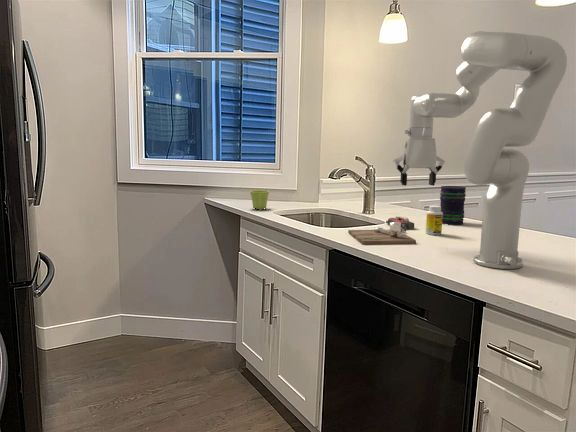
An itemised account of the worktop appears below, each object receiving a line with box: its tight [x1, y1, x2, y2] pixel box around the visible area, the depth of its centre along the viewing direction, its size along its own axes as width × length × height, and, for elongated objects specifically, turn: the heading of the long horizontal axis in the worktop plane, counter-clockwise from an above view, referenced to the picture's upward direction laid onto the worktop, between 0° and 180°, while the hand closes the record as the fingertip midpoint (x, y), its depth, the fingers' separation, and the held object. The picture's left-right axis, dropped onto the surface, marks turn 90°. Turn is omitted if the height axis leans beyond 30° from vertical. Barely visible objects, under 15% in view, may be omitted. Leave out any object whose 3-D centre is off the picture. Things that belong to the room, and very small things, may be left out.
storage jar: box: [439, 185, 467, 226], centre depth 201 cm, size 10×10×15 cm
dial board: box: [347, 229, 417, 246], centre depth 169 cm, size 19×18×1 cm
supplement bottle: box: [425, 205, 443, 236], centre depth 178 cm, size 6×6×10 cm
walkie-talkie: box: [385, 216, 415, 233], centre depth 189 cm, size 9×4×20 cm
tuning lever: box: [373, 222, 403, 238], centre depth 170 cm, size 14×4×4 cm, turn 27°
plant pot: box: [249, 189, 271, 210], centre depth 234 cm, size 9×9×9 cm
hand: (417, 185), depth 166 cm, fingers open, 9 cm apart
